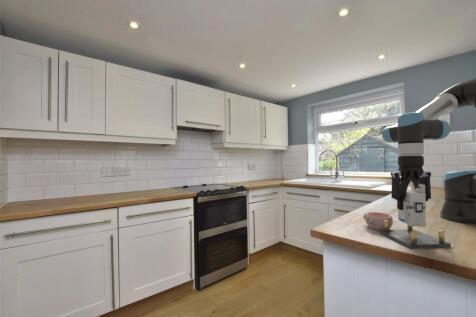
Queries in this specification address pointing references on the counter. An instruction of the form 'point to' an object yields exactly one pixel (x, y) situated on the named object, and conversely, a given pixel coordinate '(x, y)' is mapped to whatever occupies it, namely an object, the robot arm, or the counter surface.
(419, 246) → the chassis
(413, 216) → the ink box
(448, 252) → the counter surface
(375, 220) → the pink bowl
